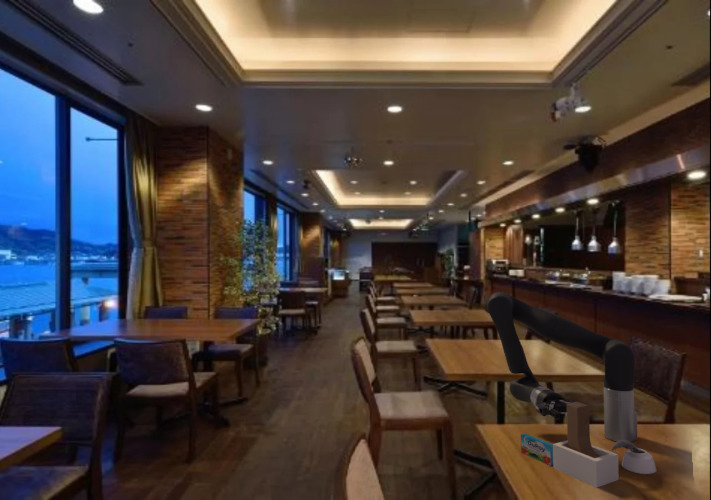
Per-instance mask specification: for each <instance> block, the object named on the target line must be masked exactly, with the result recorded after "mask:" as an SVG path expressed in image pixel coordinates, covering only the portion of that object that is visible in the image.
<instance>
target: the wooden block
mask: <svg viewBox="0 0 711 500" xmlns="http://www.w3.org/2000/svg"><path fill="white" fill-rule="evenodd" d="M566 427H567V428H566V429H567V431H566V433H567V440H568V448H570V449H572V450H575V451H577V452H580V453H582V454H585V455H587V456H590V457H593V458H598V457H601V456H599V455H598V454H596V453H595V451H594V450H593V448H592V446H591V445H592V443H591V434H590V433H591V431H590V406H589V405H587V404H585V403H582V402H579V401H577V402H574V403H572V402H570V403H568V404H567V414H566Z"/></svg>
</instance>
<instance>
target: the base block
mask: <svg viewBox="0 0 711 500" xmlns="http://www.w3.org/2000/svg"><path fill="white" fill-rule="evenodd" d="M552 444H553V465H552V467H553V469H554V470H557V471H559V472H561V473H564V474H566V475H568V476H570V477H571V478H574V479H577V480H579V481H581V482H583V483H586V484H587V485H590V486H592V487H594V488H599V487H602V486H605V485H608V484H611V483H613V482H616V481H619V478H620V477H619V454H618V453H615V452H612V451H610V450H608V449H605V448H602V447H599V446H597V445H593V444H591V446H592V448H593V450H594V451H595V453H596V454H598V455H599V456H601V457H598V458H593V457H590V456H587V455H585V454H582V453H580V452H577V451H575V450H572V449H570V448H568V439H567V440H566V439H565V440H563V441H560V442H556V443H552Z"/></svg>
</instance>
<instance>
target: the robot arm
mask: <svg viewBox="0 0 711 500" xmlns="http://www.w3.org/2000/svg"><path fill="white" fill-rule="evenodd" d="M486 309H487V312H488V314H489V316H490V318H491V320H492V322H493V324H494V326H495V329H496V331H497V333H498V337H499V340H500V342H501V346H502V350H503V353H504V357H505V360H506V364H507V367H508V370H509V372H510V373H511V374H514V375H518V374H519V375H520V374H522V375H524V376H523V377H520V378H518V379H517V378H516V379H515V380H514V379H513V380H512V381H511V382H510V383H509V392H510V394H511V395H512V397H513V398H514V399H515V400H518V401H520V402H524V403H525V402H526V403H530V404H532V405H533V406H535V411H536V413H538V414H540V415H541V416H542V417H547V416H548V417H551V418H553V419H556V420H557V421H560V420H561V414H562V415H563V414H566V415H567V404H568V403H574V402H578V401H577V400H572V401H571V402H570V401H565V400H564V398H562V396H561V394H559V393H558V392H556V391H553V390H552V389H550V388H548V387H546V386H545V387H544V386H543V385H541V384H540V383H539V381H538V379H537V377H536V376H535V375H534V374H533V372H532V370H531V368H530V366H529V363H528V360H527V357H526V353H525V350H524V348H523V344H522V343H521V340H520V338H519V336H518V333H517V331H516V327H515V323H514V321H517V322H519V323H521V324H523V325H524V326H526V327H527V328H529V329H530V330H532V331H534V332H535V333H536V334H537V335H540V336H541V337H543V338H545V339H547V340H549V341H552V342H554V343H557V344H559V345H563V346H566V347H569V348H574V349H577V350H582V351H585V352H588V353H589V354H590V355H594V356H595V357H597V358H599V359H600V360H603V361H604V378H603V412H604V413H603V418H604V419H603V420H604V421H603V422H604V423H603V424H604V425H603V426H604V429H603V430H604V431H603V432H604V437H605V438H607V439H609V440H610V441H613V442H614V441H615V442H617V441H619V440H628V441H630V442H631V443H632V442H635V441H637V440H638V413H637V411H636V410H635V397H634V396H635V395H634V394H635V392H634V391H635V390H634V389H635V388H634V386H635V380H636V358H635V353H634V350H633V349H632V348H631V347H630V346H629V345H628V344H627V343H625V342H624V341H622V340H620V339H616V338H612V337H609V336H606V335H602V334H599V333H596V332H593V331H591V330H589V329H588V328H586V327H584V326H582V325H580V324H578V323H576V322H574V321H572V320H570V319H568V318H565V317H563V316H560V315H558V314H555V313H553V312H550V311H547V310H545V309H542V308H538V307H536V306H533V305H530V304H527V303H526V302H524V301H522V300H520V299H518V298H516V297H514V296H513V295H511V294H509V293H507V292H504V291H497V292H494V293H493V294H491V295H490V297H489V298H488V301H487V303H486Z"/></svg>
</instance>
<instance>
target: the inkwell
mask: <svg viewBox="0 0 711 500" xmlns="http://www.w3.org/2000/svg"><path fill="white" fill-rule="evenodd" d="M620 448H624V449H626V450H625V451H624V453H623V457H622V460H621V467H623V469H625V470H627V471H630V472H631V473H635V474H641V475H652V474H655V473H657V471H658V469H657V467H656V464H655V460H654V457H653V455H652V453H649V452H648V451H647V450H645V449H642V448H639V447H637V446H636V445H635V444H634V443H632V442H630V441H628V440H619V441H615V443H614V444H613V446H612V451H614V450H616V449H620Z"/></svg>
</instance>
